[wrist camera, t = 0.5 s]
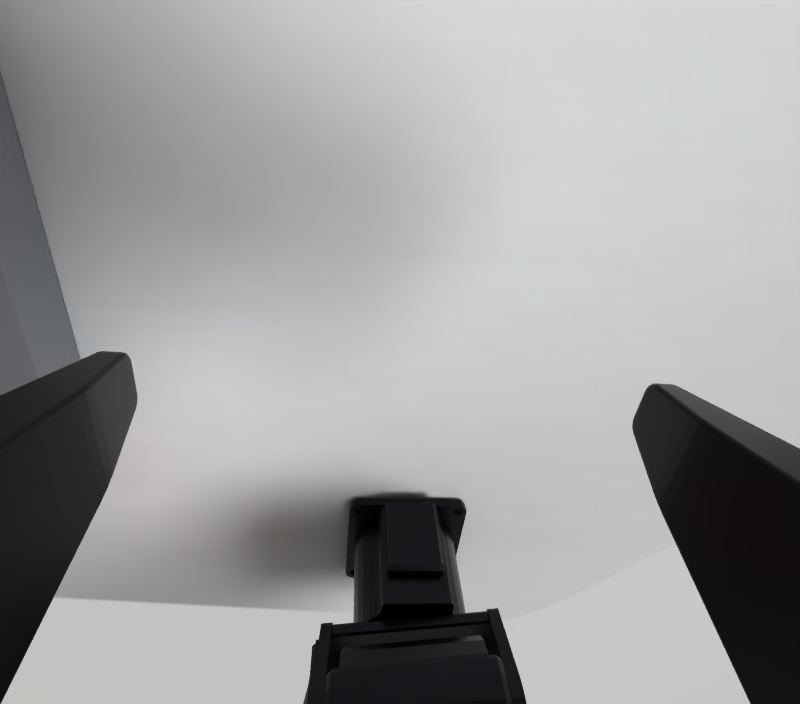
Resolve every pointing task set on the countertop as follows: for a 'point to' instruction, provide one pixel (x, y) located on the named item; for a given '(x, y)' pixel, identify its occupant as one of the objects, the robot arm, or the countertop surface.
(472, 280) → the countertop surface
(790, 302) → the countertop surface
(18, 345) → the grey long block
